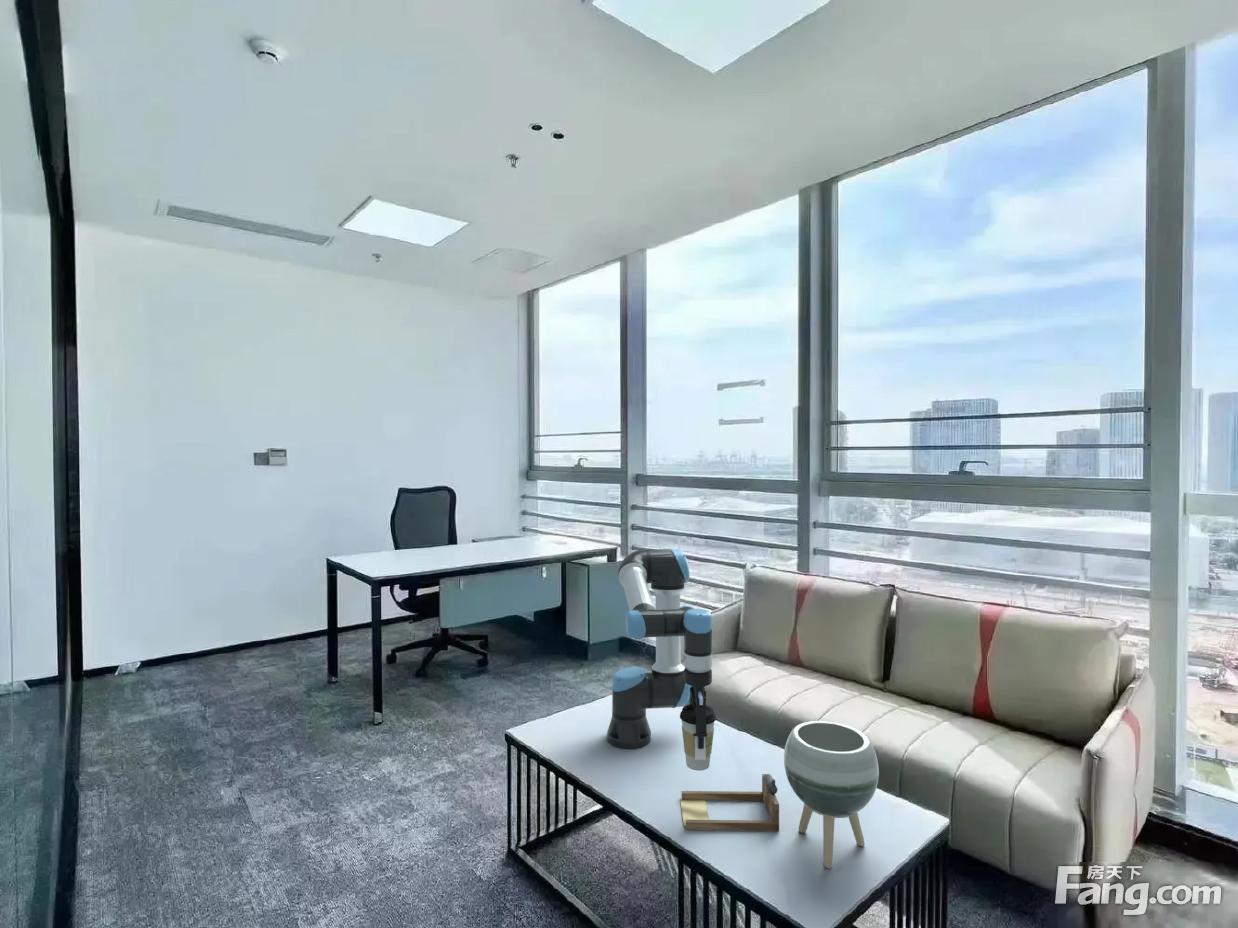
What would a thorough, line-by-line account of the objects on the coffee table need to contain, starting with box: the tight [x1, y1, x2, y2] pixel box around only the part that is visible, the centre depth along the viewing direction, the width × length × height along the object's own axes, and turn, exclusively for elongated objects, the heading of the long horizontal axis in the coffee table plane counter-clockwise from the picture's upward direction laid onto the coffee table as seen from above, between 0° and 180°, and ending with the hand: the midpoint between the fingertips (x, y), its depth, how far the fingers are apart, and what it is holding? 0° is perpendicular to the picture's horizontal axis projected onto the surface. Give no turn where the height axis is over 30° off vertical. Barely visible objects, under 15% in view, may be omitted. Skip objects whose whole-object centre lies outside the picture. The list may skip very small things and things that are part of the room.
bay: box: [679, 773, 780, 832], centre depth 167 cm, size 15×25×11 cm, turn 89°
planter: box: [783, 720, 880, 869], centre depth 153 cm, size 22×22×28 cm
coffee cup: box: [679, 703, 717, 772], centre depth 167 cm, size 10×10×15 cm
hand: (697, 749), depth 167 cm, fingers closed on coffee cup, 10 cm apart
